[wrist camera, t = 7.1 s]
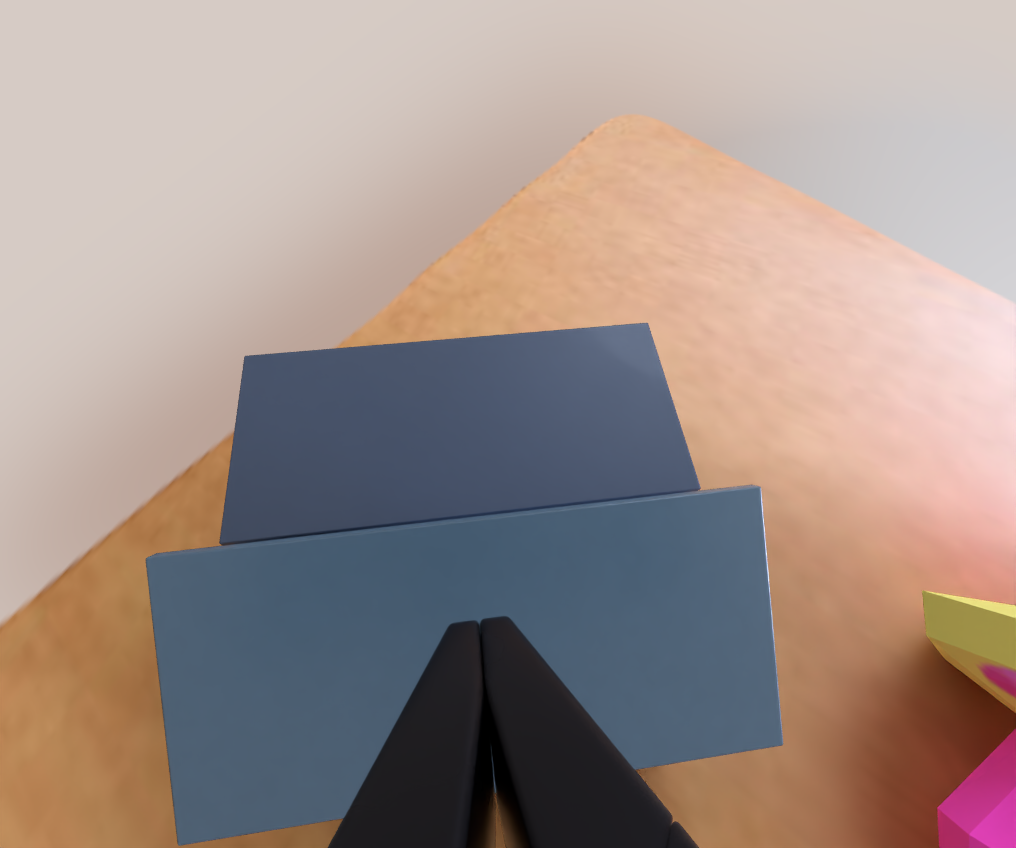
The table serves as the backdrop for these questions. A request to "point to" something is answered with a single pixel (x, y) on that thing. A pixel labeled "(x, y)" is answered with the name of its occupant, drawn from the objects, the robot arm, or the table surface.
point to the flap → (423, 621)
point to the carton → (450, 431)
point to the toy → (1005, 675)
